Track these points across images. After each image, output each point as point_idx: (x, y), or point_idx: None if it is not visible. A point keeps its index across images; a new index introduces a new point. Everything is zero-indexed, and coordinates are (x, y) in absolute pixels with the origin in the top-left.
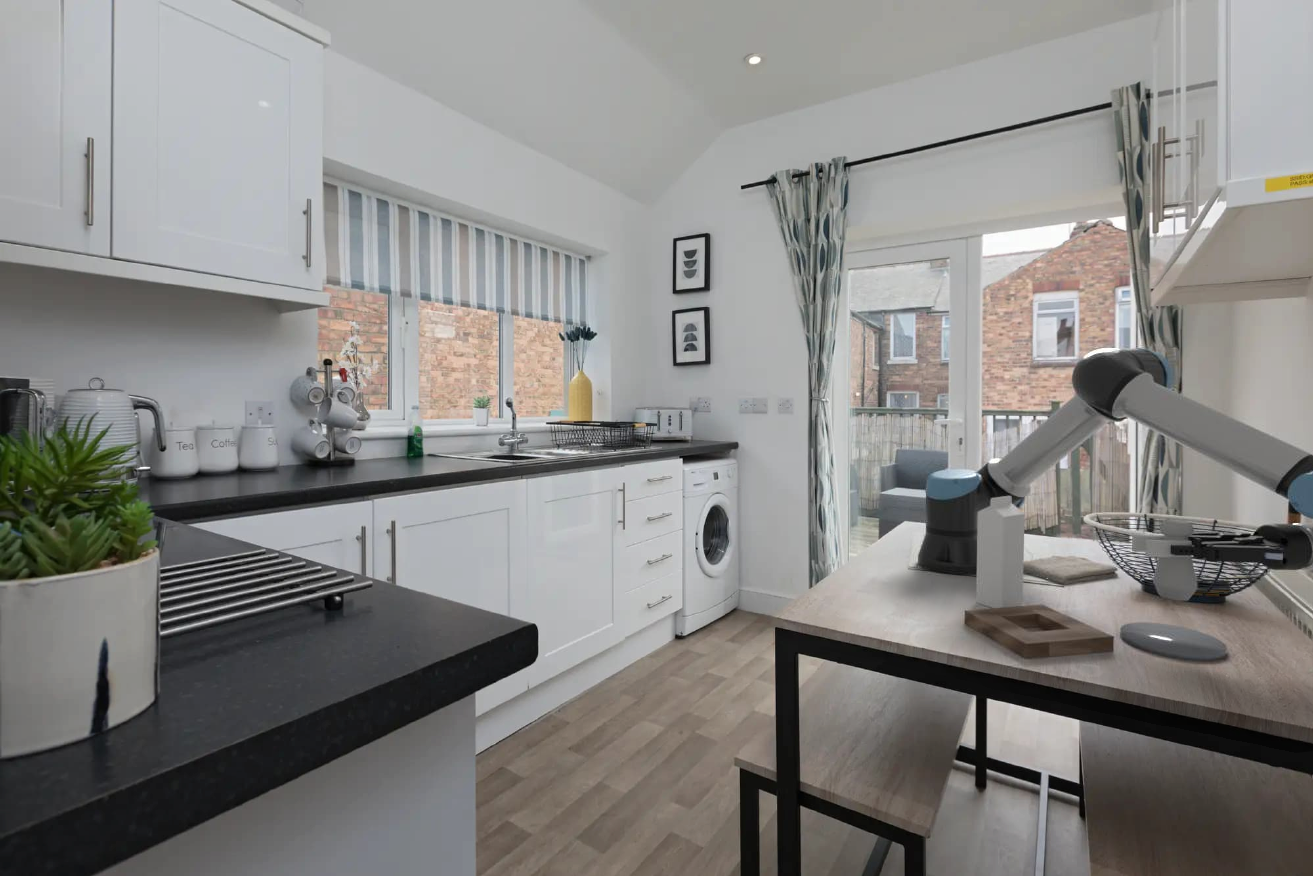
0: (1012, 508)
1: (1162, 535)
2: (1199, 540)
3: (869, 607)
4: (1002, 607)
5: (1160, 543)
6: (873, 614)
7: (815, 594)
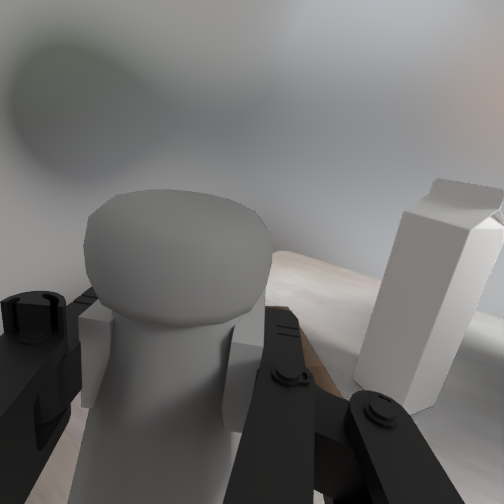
0: (468, 213)
1: (257, 306)
2: (16, 302)
3: (323, 284)
4: (308, 341)
5: None
6: (301, 281)
7: (351, 271)
